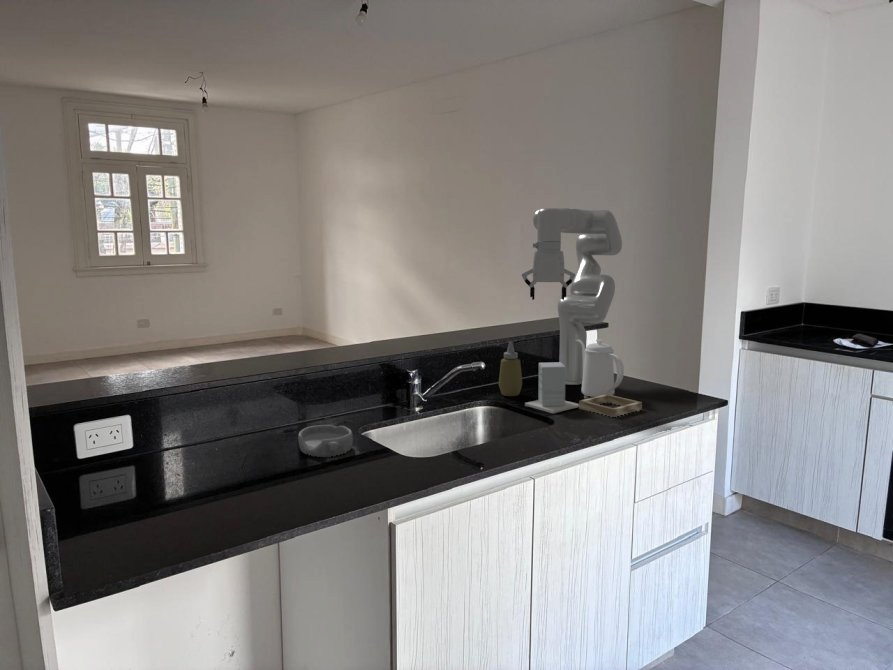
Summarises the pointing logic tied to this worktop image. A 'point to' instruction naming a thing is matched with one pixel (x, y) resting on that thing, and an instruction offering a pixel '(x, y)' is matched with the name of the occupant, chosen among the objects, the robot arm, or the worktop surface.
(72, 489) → the worktop surface
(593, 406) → the wooden frame
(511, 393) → the squeeze bottle
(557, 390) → the supplement box
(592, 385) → the coffeepot
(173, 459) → the worktop surface
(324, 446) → the dish
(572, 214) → the robot arm
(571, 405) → the tile
